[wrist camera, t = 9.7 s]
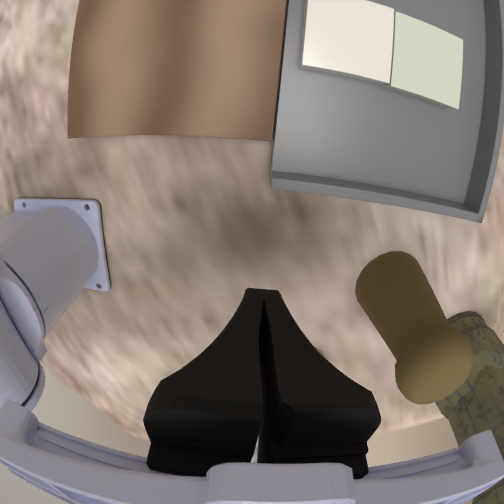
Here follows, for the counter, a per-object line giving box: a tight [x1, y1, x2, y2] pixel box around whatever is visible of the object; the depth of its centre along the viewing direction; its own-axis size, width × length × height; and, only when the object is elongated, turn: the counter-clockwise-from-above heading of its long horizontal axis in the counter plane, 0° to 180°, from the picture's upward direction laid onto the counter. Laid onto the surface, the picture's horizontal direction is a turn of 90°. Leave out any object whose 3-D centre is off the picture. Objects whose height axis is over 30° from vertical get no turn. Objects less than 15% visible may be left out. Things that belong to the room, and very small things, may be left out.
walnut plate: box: [68, 0, 286, 141], centre depth 14 cm, size 13×14×2 cm
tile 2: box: [299, 0, 394, 85], centre depth 13 cm, size 5×5×2 cm
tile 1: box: [381, 11, 463, 109], centre depth 13 cm, size 5×5×2 cm
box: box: [270, 0, 504, 223], centre depth 14 cm, size 15×19×4 cm
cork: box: [355, 252, 474, 404], centre depth 18 cm, size 6×6×11 cm
